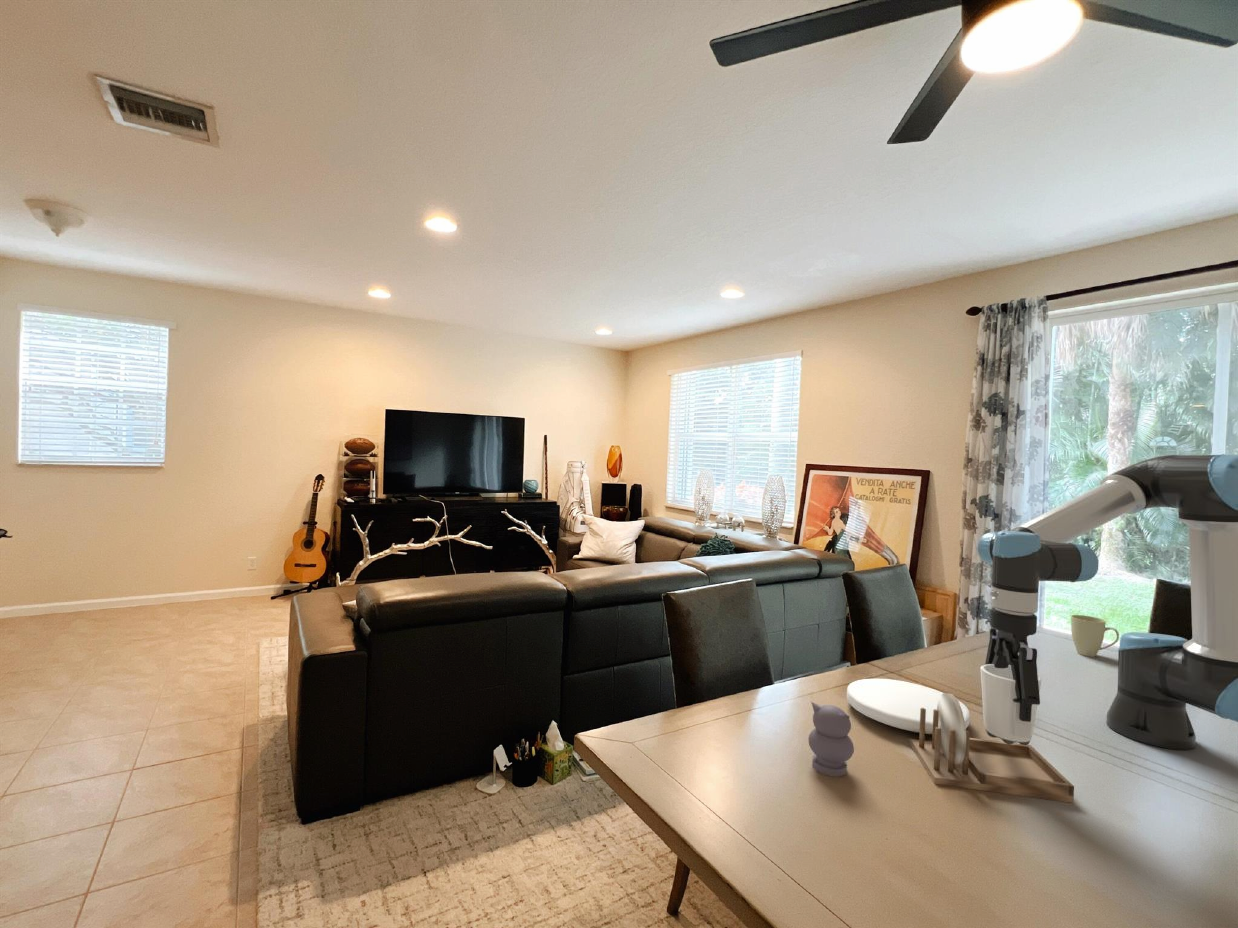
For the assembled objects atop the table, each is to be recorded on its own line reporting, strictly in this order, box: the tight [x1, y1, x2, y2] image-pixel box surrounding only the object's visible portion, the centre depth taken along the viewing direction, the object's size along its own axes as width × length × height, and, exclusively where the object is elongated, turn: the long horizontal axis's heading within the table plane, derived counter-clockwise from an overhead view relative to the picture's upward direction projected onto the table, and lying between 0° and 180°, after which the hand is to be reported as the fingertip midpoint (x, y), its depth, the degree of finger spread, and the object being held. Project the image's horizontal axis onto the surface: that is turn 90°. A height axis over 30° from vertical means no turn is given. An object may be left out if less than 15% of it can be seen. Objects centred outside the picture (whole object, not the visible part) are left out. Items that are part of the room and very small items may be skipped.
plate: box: [846, 678, 971, 735], centre depth 137 cm, size 28×6×27 cm
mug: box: [1070, 614, 1120, 658], centre depth 189 cm, size 11×10×12 cm
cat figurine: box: [808, 701, 855, 777], centre depth 112 cm, size 8×8×12 cm
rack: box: [909, 692, 1075, 803], centre depth 113 cm, size 23×15×14 cm
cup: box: [980, 664, 1042, 745], centre depth 112 cm, size 10×10×13 cm
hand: (1008, 723), depth 112 cm, fingers closed on cup, 10 cm apart
